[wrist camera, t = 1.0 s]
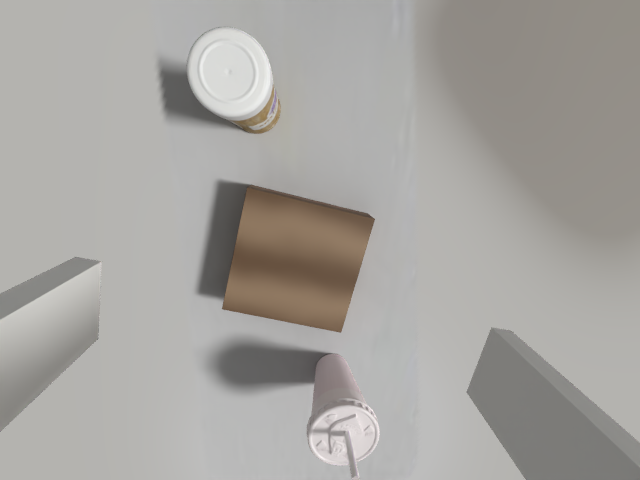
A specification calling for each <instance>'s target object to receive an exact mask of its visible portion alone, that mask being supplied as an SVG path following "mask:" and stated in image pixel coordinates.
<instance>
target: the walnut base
mask: <svg viewBox="0 0 640 480" xmlns="http://www.w3.org/2000/svg"><path fill="white" fill-rule="evenodd" d="M374 220H375V219H374V218H373V217H371V216H370V215H369V214H367V213H363V212H359V211H355V210H351V209H347V208H343V207H339V206H335V205H331V204H326V203H322V202H318V201H314V200H310V199H306V198H302V197H298V196H294V195H290V194H286V193H282V192H278V191H274V190H270V189H266V188H262V187H258V186H254V185H250V186H249V187H247V191H246V196H245V200H244V205H243V210H242V215H241V220H240V225H239V229H238V234H237V239H236V244H235V249H234V254H233V259H232V263H231V268H230V273H229V278H228V283H227V288H226V292H225V297H224V302H223V307H222V309H224V310H229V311H234V312H239V313H244V314H249V315H254V316H260V317H265V318H270V319H275V320H280V321H285V322H290V323H295V324H300V325H305V326H310V327H315V328H320V329H326V330H331V331H336V332H341V331H342V328H343V324H344V321H345V318H346V314H347V311H348V307H349V304H350V301H351V297H352V294H353V291H354V287H355V284H356V281H357V277H358V274H359V270H360V267H361V264H362V260H363V257H364V254H365V250H366V247H367V244H368V240H369V237H370V234H371V230H372V227H373V223H374Z"/></svg>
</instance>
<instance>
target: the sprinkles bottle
mask: <svg viewBox="0 0 640 480" xmlns="http://www.w3.org/2000/svg"><path fill="white" fill-rule="evenodd" d="M187 77H188V82H189V85H190V87H191V90H192V92H193V93H194V95H195V97H196V98H197V100H198V101H199V102H200V103H201V104H202V105H203V106H204V107H205V108H207V109H208V110H209V111H211V112H212V113H214V114H215V115H217V116H219V117H221V118H224V119H227V120H229V121H230V122H232V123H234V124H236V125H237V126H239V127H241V128H243V129H244V130H245V131H248V132H250V133H254V134H258V133H264V132H266V131H269V130H270V129H272V128H273V126H274V125H275V124H276V123H277V121H278V119H279V116H280V102H279V99H278V96H277V93H276V90H275V87H274V84H273V75H272V70H271V66H270V63H269V60H268V57H267V55H266V53H265V51H264V49H263V48H262V46H261V45H260V44H259V43H258V42H257V41H256V40H255V39H254V38H253V37H252V36H251V35H249V34H248V33H246V32H244V31H242V30H240V29H237V28H232V27H218V28H214V29H211V30H209V31H207V32H205V33H204V34H202V35H201V36H200V37H199V38H198V39H197V40H196V41H195V43H194V44H193V46H192V48H191V50H190V52H189V55H188V59H187Z"/></svg>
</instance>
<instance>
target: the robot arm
mask: <svg viewBox="0 0 640 480" xmlns="http://www.w3.org/2000/svg"><path fill="white" fill-rule="evenodd" d="M101 263H102V262H101V261H96V260H90V259H84V258H79V257H75V258H72V259H70V260H68V261H66V262H64V263H62V264H60V265H58V266H56V267H54V268H52V269H50V270H48V271H46V272H44V273H42V274H40V275H38V276H36V277H34V278H31V279H30V280H27V281H25V282H23V283H21V284H20V285H17V286H15V287H13V288H11V289H9V290H7V291H5V292H3V293H1V294H0V432H1V431H2V430H3V429H4V428H5V427H6V426H7V425H8V424H9V423H10V422H11V421H12V420H13V419H14V418H15V417H16V416H17V415H18V414H19V413H21V412H22V411H23V409H25V408H26V407H27V406H28V405H29V404H30V403H31V402H32V401H33V400H34V399H35V398H36V397H37V396H39V395H40V393H42V392H43V390H45V389H46V388H47V387H48V386H49V385H50V384H51V383H52V382H53V381H54V380H55V379H56V378H57V377H59V376H60V374H61V373H63V372H64V371H65V370H66V369H67V368H68V367H69V366H70V365H71V364H72V363H73V362H74V361H75V360H76V359H77V358H78V357H80V356H81V355H82V354H83V353H84V352H85V351H86V350H87V349H88V348H89V347H90V346H91V345H92V344H93V343H94V342H95V341H96V340H98V332H99V309H100V285H101ZM467 393H468V395H469V396H470V398H471V399H472V401H473V402H474V404H475V405H476V407H477V408H478V410H479V411H480V413H481V414H482V416H483V417H484V419H485V420H486V422H487V423H488V425H489V426H490V427H491V429H492V430H493V432H494V433H495V435H496V436H497V438H498V439H499V441H500V442H501V444H502V445H503V447H504V448H505V449H506V451H507V452H508V454H509V455H510V457H511V458H512V460H513V461H514V463H515V464H516V466H517V467H518V469H519V470H520V472H521V473H522V475H523V476H524V478H525V479H526V480H640V443H639V442H638V441H637V440H636V439H635V438H634V437H633V436H631V435H630V434H629V433H628V432H627V431H626V430H625V429H623V428H622V427H621V426H620V425H619V424H618V423H616V422H615V421H614V420H613V419H612V418H611V417H610V416H608V415H607V414H606V413H605V412H604V411H602V410H601V409H600V408H599V407H598V406H597V405H596V404H595V403H594V402H592V401H591V400H590V399H589V398H588V397H586V396H585V395H584V394H583V393H582V392H581V391H580V390H579V389H577V388H576V387H575V386H574V385H573V384H572V383H571V382H569V381H568V380H567V379H566V378H565V377H564V376H562V375H561V374H560V373H559V372H558V371H557V370H556V369H555V368H553V367H552V366H551V365H550V364H549V363H548V362H546V361H545V360H544V359H543V358H542V357H541V356H539V355H538V354H537V353H536V352H535V351H534V350H533V349H531V348H530V347H529V346H528V345H527V344H526V343H525V342H523V341H522V340H521V339H520V338H519V337H518V336H517V335H516V334H514V333H513V332H512V331H509V330H503V329H498V328H491V330H490V333H489V335H488V338H487V341H486V343H485V346H484V348H483V351H482V353H481V356H480V359H479V361H478V364H477V367H476V369H475V372H474V374H473V377H472V380H471V382H470V385H469V387H468V390H467Z"/></svg>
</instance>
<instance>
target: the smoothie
mask: <svg viewBox="0 0 640 480" xmlns="http://www.w3.org/2000/svg"><path fill="white" fill-rule="evenodd" d="M379 434H380V432H379V426H378V422H377V417H376V415H375V413H374V412H373V410H372V409H371V408H370V407H369V406H368V405H367V403H366V401H365V399H364V397H363V395H362V393H361V391H360V389H359V387H358V385H357V383H356V381H355V378H354V376H353V374H352V372H351V370H350V368H349V366H348V364H347V362H346V360H345V359H344V358H343V357H342V356H340V355H337V354H328V355H325V356H323V357H322V358H321V359H320V360H319V361H318V362H317V365H316V372H315V382H314V393H313V404H312V413H311V417H310V419H309V421H308V424H307V437H308V444H309V447H310V449H311V451H312V453H313V454H314V455H315V456H316V457H317V458H318V459H320V460H321V461H323V462H325V463H328V464H332V465H341V466H343V465H350V471H351V477H352V480H359V474H358V469H357V464H356V462H359V461H361V460H362V459H364V458H365V457H367V456H368V455H369V454H370V453H371V452H372V451H373V450H374V448H375V447H376V445H377V443H378V440H379Z"/></svg>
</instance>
